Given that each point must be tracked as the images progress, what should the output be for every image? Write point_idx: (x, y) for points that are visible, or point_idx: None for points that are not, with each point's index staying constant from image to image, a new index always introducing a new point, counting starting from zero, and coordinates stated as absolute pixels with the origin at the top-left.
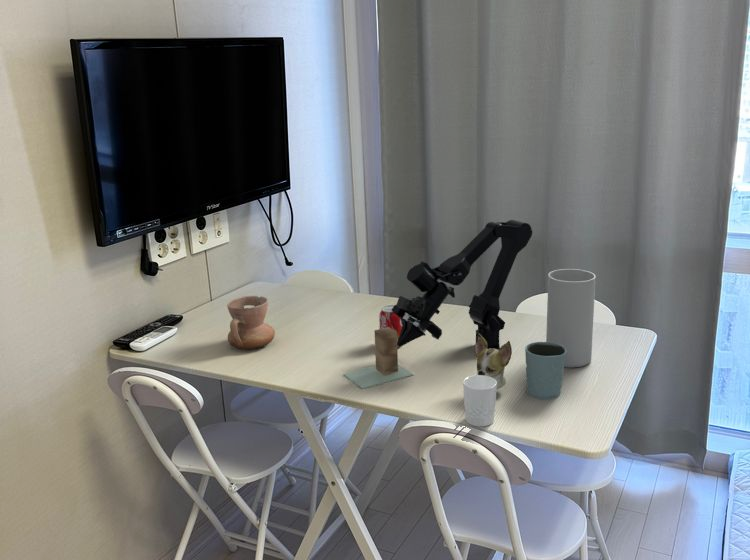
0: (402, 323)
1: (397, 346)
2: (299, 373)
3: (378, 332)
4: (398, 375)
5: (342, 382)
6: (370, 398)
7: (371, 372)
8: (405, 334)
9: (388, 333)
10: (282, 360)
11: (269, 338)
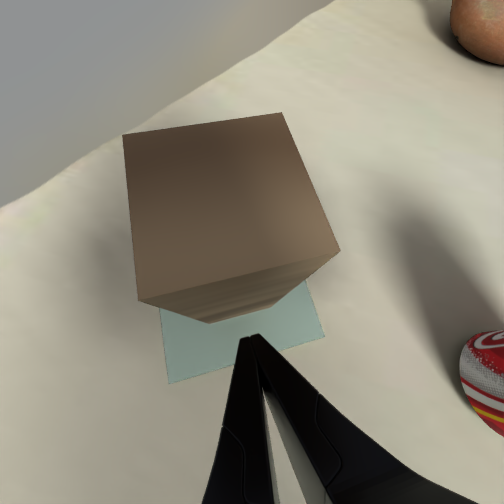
0: (435, 500)
1: (469, 399)
2: (305, 87)
3: (215, 125)
4: (182, 317)
5: None
6: (74, 191)
7: None
8: (228, 436)
9: (140, 195)
10: (389, 73)
11: (492, 36)
